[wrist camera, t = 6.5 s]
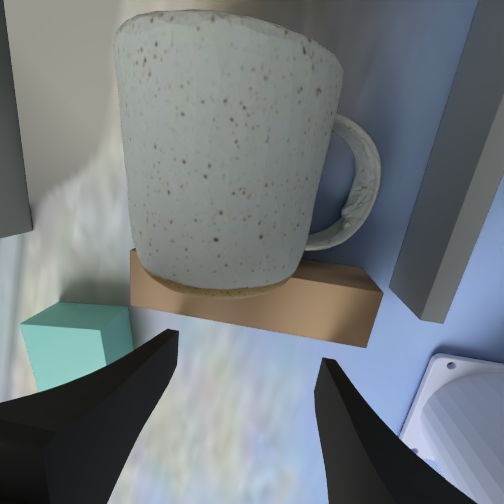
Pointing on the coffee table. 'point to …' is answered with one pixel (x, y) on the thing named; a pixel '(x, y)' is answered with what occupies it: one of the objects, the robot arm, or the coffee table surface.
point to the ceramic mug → (231, 149)
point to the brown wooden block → (281, 303)
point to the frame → (433, 184)
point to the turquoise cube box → (75, 341)
